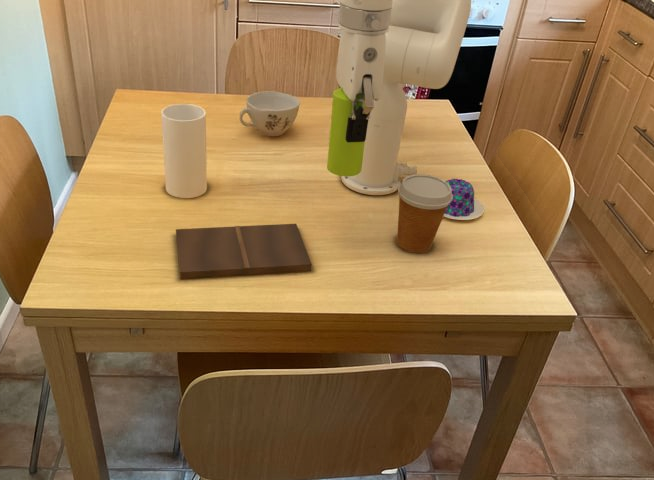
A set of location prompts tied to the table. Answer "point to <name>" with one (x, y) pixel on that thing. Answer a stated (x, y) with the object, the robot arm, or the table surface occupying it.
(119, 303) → the table surface
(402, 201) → the disposable coffee cup
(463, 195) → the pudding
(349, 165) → the soap dispenser
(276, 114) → the teacup
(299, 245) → the walnut board
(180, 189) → the cup
